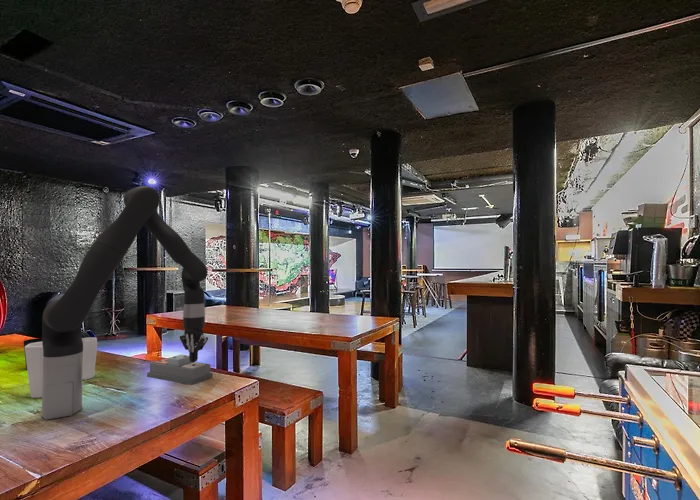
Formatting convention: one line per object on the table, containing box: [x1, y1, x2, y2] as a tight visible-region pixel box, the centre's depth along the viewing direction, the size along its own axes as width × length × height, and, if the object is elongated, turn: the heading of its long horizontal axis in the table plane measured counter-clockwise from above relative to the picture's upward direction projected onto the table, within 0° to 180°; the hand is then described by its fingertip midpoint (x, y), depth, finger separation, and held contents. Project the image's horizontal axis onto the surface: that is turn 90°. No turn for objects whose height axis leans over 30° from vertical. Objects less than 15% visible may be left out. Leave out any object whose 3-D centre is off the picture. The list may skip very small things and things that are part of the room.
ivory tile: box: [181, 361, 207, 369], centre depth 134 cm, size 6×6×4 cm
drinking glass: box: [82, 336, 98, 381], centre depth 137 cm, size 7×7×15 cm
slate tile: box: [167, 354, 192, 367], centre depth 138 cm, size 6×6×4 cm
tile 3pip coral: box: [153, 357, 169, 365], centre depth 141 cm, size 6×6×4 cm
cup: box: [23, 337, 42, 371], centre depth 151 cm, size 8×8×12 cm
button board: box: [146, 357, 213, 386], centre depth 138 cm, size 24×10×5 cm, turn 65°
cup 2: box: [24, 342, 43, 399], centre depth 120 cm, size 11×10×17 cm
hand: (193, 361), depth 134 cm, fingers closed
